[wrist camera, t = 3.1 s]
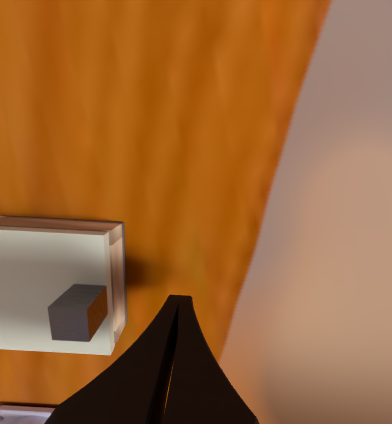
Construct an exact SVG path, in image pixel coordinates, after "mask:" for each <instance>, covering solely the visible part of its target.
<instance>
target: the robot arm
mask: <svg viewBox="0 0 392 424" xmlns="http://www.w3.org/2000/svg"><path fill="white" fill-rule="evenodd" d="M173 362H174V363H173ZM172 367H173V369H172ZM171 372H172V375H171ZM170 377H171V381H170ZM169 382H170V386H169ZM168 387H169V392H168ZM167 392H168V397H167ZM166 398H167V403H166ZM165 404H166V408H165ZM164 412H165V413H164ZM0 424H259V422H258V419H257V418H256V416H255V415H254V414H253V413H252V412H251V410H250V409H249V408H248V406H247V405H246V404H245V403H244V401H243V400H242V399H241V397H240V396H239V395H238V393H237V392H236V390H235V389H234V388H233V386H232V385H231V383H230V382H229V380H228V379H227V377H226V376H225V374H224V373H223V371H222V369H221V368H220V366H219V365H218V363H217V361H216V360H215V358H214V356H213V354H212V352H211V350H210V348H209V347H208V344H207V342H206V340H205V338H204V336H203V333H202V331H201V329H200V326H199V323H198V320H197V318H196V314H195V311H194V307H193V301H192V297H191V296H184V295H169V296H168V298H167V300H166V302H165V303H164V305H163V307H162V308H161V310H160V311H159V313H158V314H157V315H156V317H155V318H154V320H153V321H152V322H151V323H150V325H149V326H148V327H147V328H146V330H145V331H144V332H143V333H142V334H141V336H140V337H139V338H138V339H137V340H136V341H135V342H134V343H133V344H132V345H131V346H130V347H129V348H128V349H127V350H126V351H125V352H124V353H123V354H122V355H121V356H120V357H119V358H118V359H117V360H116V361H115V362H114V363H113V364H112V365H110V366H109V367H108V368H107V369H106V370H104V371H103V372H102V373H101V374H100V375H98V376H97V377H96V378H95V379H94V380H92V381H91V382H90V383H89V384H87V385H86V386H85V387H83V388H82V389H80V390H79V391H78V392H76V393H75V394H74V395H72V396H71V397H69V398H68V399H67V400H65V401H64V402H62V403H61V404H59V405H58V406H56V408H43V407H25V406H8V405H2V406H0Z"/></svg>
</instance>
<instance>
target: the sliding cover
mask: <svg viewBox="0 0 392 424" xmlns="http://www.w3.org/2000/svg"><path fill="white" fill-rule="evenodd" d="M114 347H115V346H114V327H113V308H112V288H111V269H110V250H109V232H98V231H79V230H60V229H41V228H22V227H3V226H0V349H9V350H27V351H45V352H62V353H80V354H98V355H111V353H112V351H113V349H114Z"/></svg>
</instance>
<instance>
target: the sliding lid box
mask: <svg viewBox="0 0 392 424" xmlns="http://www.w3.org/2000/svg"><path fill="white" fill-rule="evenodd" d="M0 226H3V227H22V228H41V229H60V230H79V231H98V232H109V250H110V269H111V288H112V308H113V327H114V343H117V341H118V339H119V337H120V335H121V333H122V331H123V328H124V326H125V324H126V322H127V302H126V272H125V242H124V222H110V221H91V220H72V219H53V218H34V217H15V216H0Z"/></svg>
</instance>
